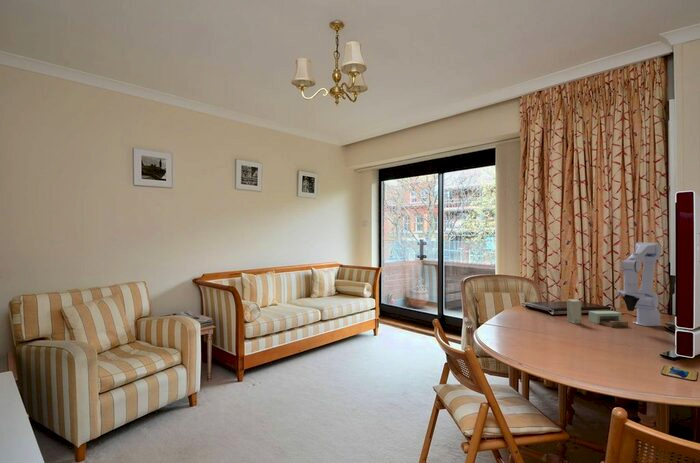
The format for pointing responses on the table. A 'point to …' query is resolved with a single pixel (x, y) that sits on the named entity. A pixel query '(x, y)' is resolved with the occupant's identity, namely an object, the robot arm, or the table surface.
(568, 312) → the skincare box
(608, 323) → the board
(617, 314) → the shelf
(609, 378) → the table surface
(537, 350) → the table surface
